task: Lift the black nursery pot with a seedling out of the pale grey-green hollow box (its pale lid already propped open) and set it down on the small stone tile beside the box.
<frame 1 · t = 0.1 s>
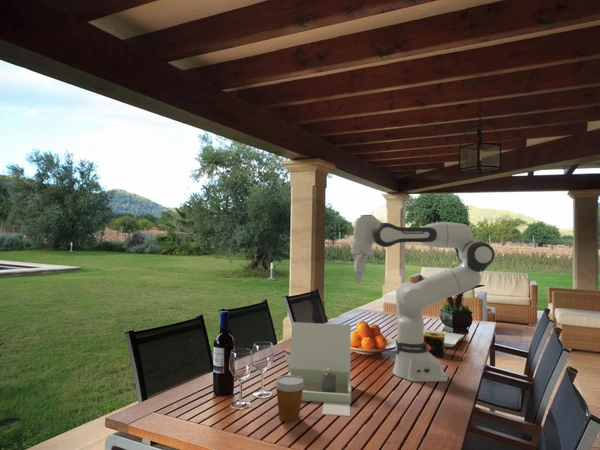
hand: (357, 281, 175), 39 cm above the table, tool pointing down, fingers open, 8 cm apart
pale grey-green hollow box: (317, 393, 147), on the table
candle: (433, 354, 204), on the table
square plate: (435, 342, 230), on the table
nursery pot: (328, 393, 146), point 1 cm above the table, touching pale grey-green hollow box
lidded jar: (296, 367, 176), on the table
stone tile: (336, 411, 132), on the table
disposable coffee cup: (288, 418, 126), on the table
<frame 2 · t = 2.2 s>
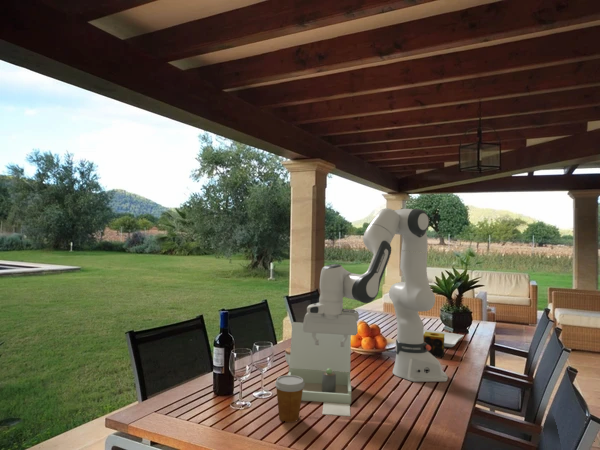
hand: (329, 345, 147), 18 cm above the table, tool pointing down, fingers open, 8 cm apart
nothing on the table moved.
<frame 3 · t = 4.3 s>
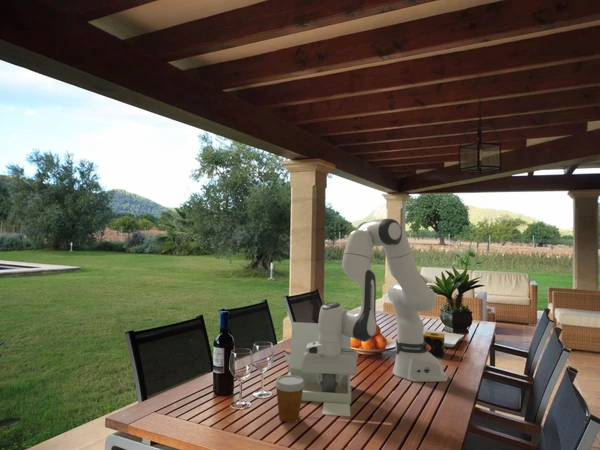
hand: (328, 385, 146), 3 cm above the table, tool pointing down, fingers closed on nursery pot, 5 cm apart
nursery pot: (328, 393, 146), point 1 cm above the table, touching pale grey-green hollow box, gripper
everything else where it was.
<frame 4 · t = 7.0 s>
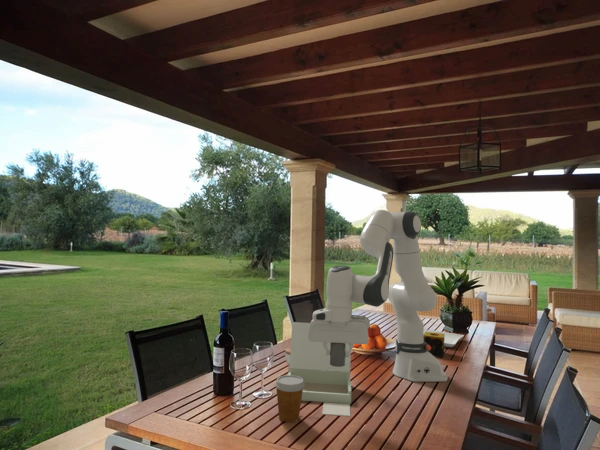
hand: (337, 355, 133), 18 cm above the table, tool pointing down, fingers closed on nursery pot, 5 cm apart
nursery pot: (337, 364, 133), point 15 cm above the table, touching gripper
everything else where it was.
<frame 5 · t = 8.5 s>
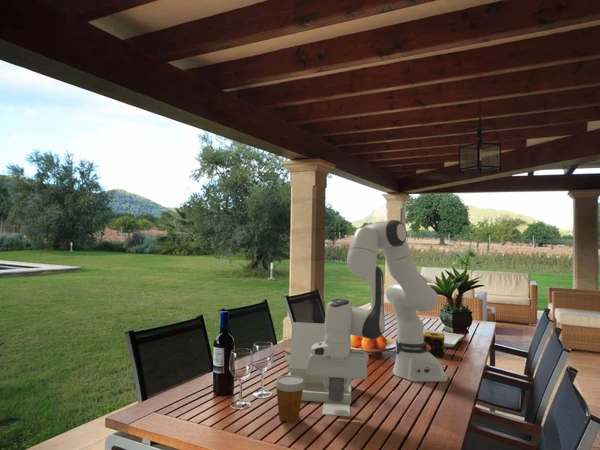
hand: (336, 390, 133), 7 cm above the table, tool pointing down, fingers closed on nursery pot, 5 cm apart
nursery pot: (335, 398, 132), point 4 cm above the table, touching gripper
everything else where it was.
when the fingers open (5 cm above the table, at t = 9.7 s): nursery pot drops 1 cm, resting on stone tile.
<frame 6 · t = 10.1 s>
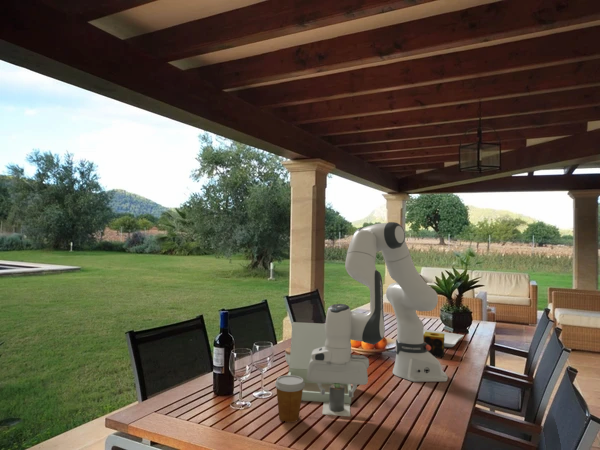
hand: (336, 395, 132), 5 cm above the table, tool pointing down, fingers open, 8 cm apart
nursery pot: (336, 408, 132), point 1 cm above the table, touching stone tile
everything else where it was.
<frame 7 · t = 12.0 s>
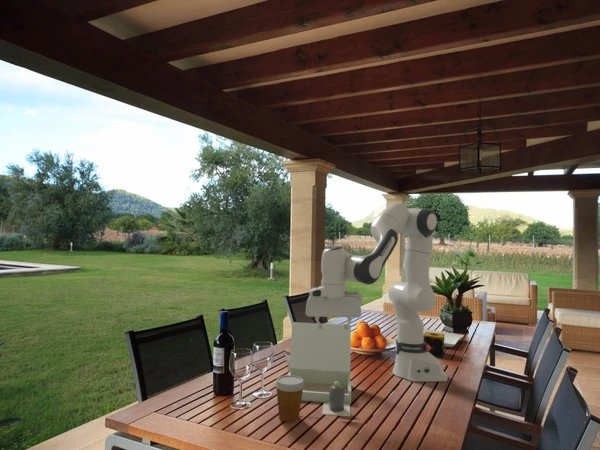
hand: (333, 329, 145), 25 cm above the table, tool pointing down, fingers open, 8 cm apart
nothing on the table moved.
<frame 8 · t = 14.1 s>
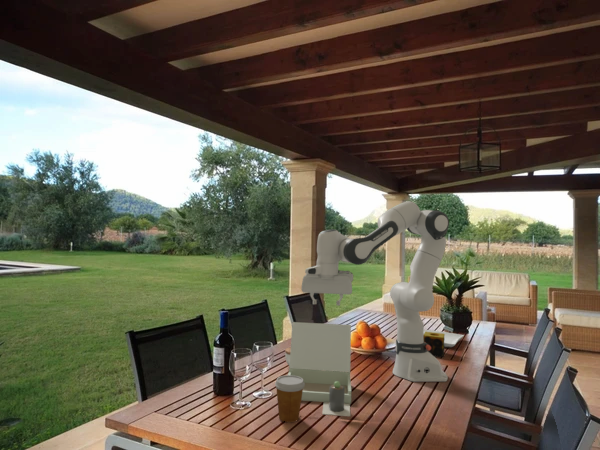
hand: (326, 304, 158), 31 cm above the table, tool pointing down, fingers open, 8 cm apart
nothing on the table moved.
at the end: nursery pot inside the target area on the stone tile (0.0 cm from its centre), point 0.8 cm above the stone tile's base; nursery pot tilted 0°; the gripper is holding nothing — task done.
